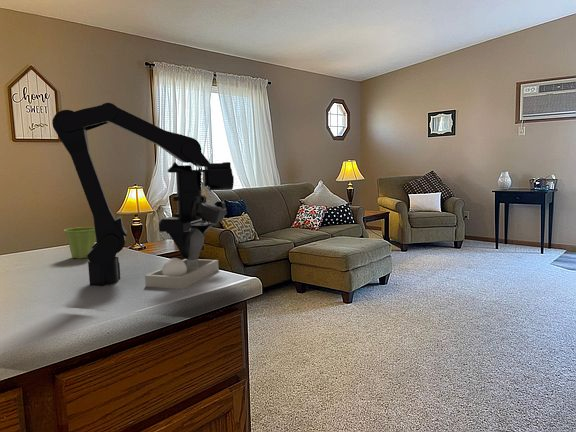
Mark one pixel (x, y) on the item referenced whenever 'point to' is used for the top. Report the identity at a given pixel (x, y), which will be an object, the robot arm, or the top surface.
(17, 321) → the top surface
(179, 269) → the ceramic egg
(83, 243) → the plant pot
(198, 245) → the light bulb
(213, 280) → the top surface
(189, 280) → the tray
